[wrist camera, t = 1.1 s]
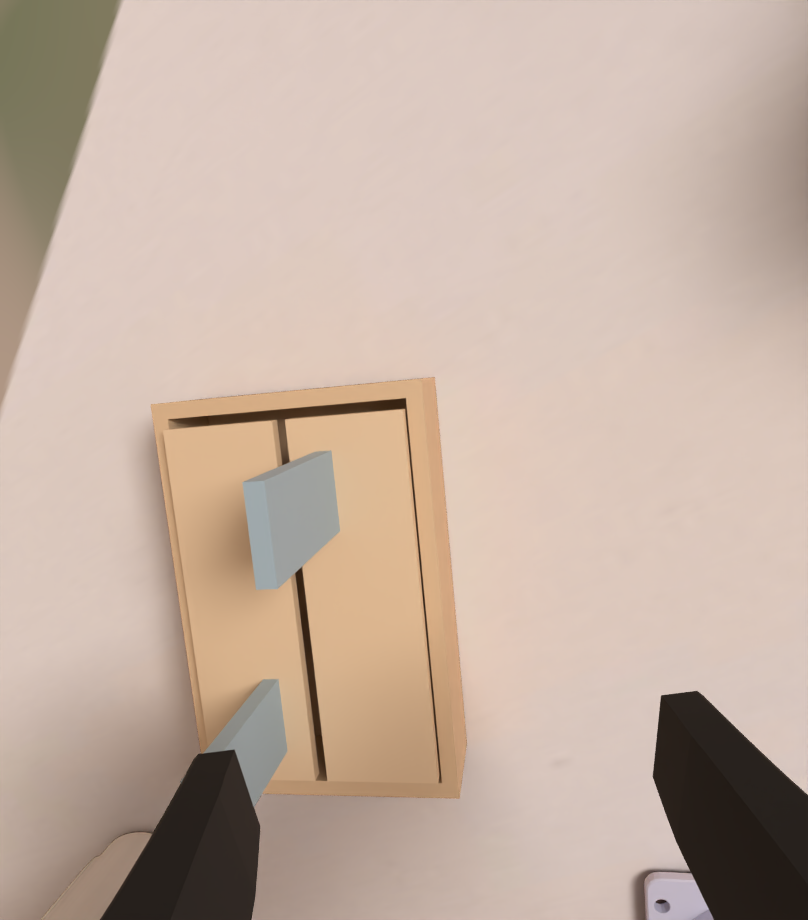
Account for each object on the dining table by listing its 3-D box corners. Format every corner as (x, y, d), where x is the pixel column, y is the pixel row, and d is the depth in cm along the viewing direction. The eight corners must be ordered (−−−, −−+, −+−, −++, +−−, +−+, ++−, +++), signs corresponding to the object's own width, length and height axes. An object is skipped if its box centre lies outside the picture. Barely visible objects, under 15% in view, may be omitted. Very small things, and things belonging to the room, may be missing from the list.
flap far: (319, 772, 21) (250, 914, 15) (218, 771, 21) (117, 906, 16) (276, 419, 19) (184, 440, 14) (169, 428, 20) (42, 452, 15)
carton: (466, 743, 23) (459, 798, 20) (243, 741, 25) (206, 792, 22) (434, 377, 21) (421, 379, 19) (197, 399, 23) (150, 404, 20)
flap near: (439, 775, 20) (411, 924, 15) (331, 773, 21) (265, 915, 15) (405, 408, 19) (359, 425, 13) (289, 418, 19) (201, 438, 14)
